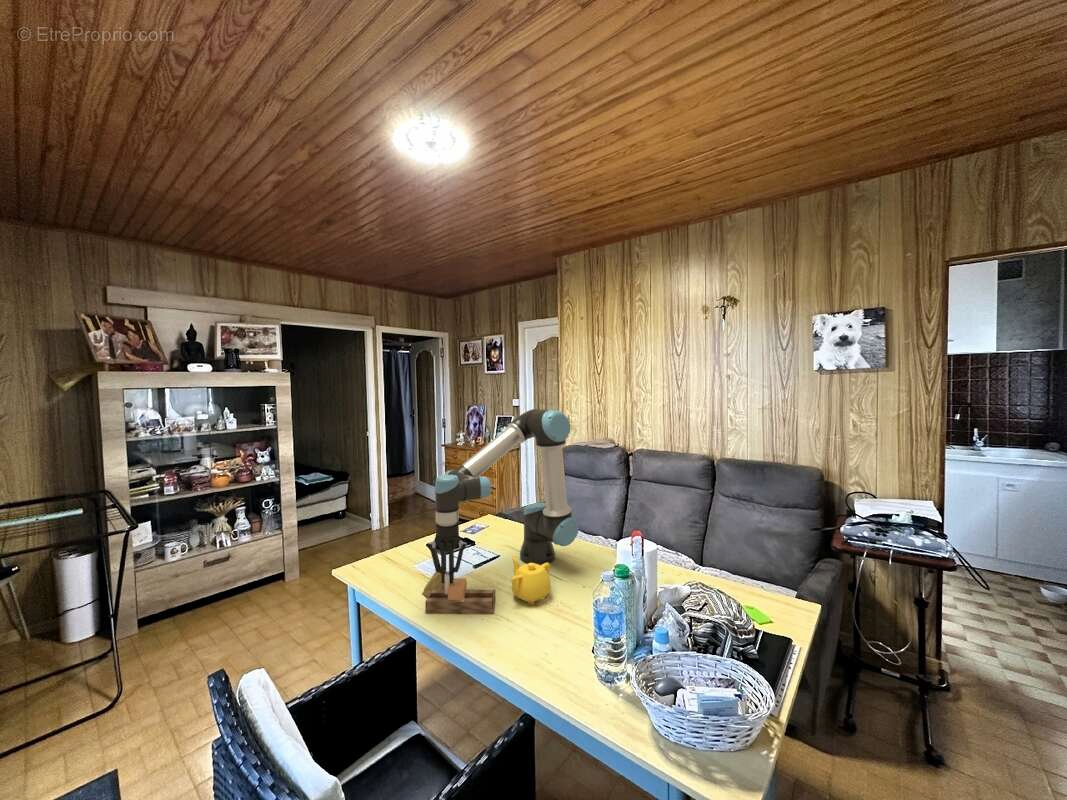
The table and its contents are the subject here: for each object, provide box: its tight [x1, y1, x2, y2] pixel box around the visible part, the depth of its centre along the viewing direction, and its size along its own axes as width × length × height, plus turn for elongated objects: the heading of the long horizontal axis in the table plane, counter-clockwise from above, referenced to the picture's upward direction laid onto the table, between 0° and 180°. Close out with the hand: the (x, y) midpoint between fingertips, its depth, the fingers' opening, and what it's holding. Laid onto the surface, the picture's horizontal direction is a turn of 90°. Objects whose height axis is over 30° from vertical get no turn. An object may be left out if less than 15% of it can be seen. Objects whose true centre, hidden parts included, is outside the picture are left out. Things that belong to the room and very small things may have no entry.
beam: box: [424, 588, 496, 615], centre depth 140 cm, size 22×9×4 cm, turn 90°
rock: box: [421, 571, 445, 597], centre depth 146 cm, size 11×9×10 cm
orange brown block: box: [448, 577, 468, 600], centre depth 139 cm, size 5×7×7 cm
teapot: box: [510, 556, 552, 606], centre depth 147 cm, size 14×14×12 cm
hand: (447, 592), depth 140 cm, fingers closed
